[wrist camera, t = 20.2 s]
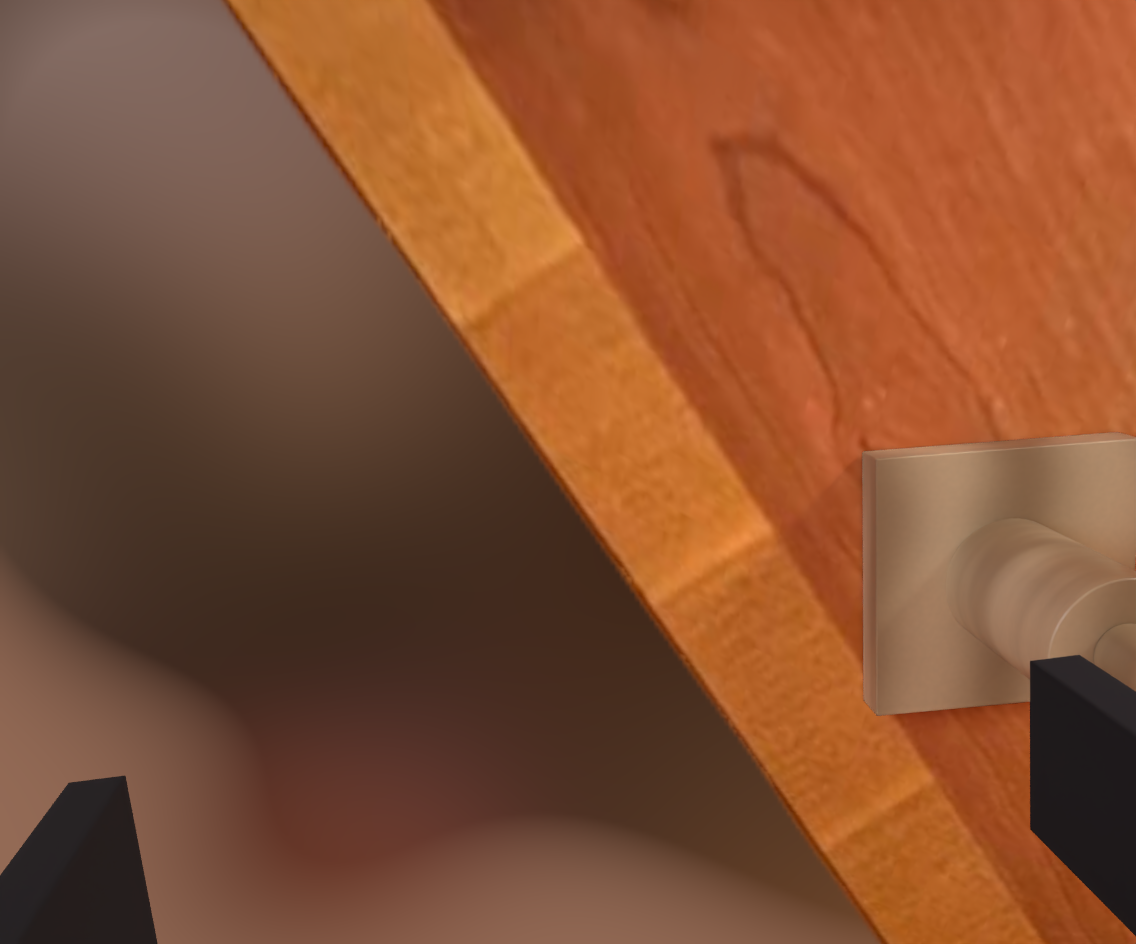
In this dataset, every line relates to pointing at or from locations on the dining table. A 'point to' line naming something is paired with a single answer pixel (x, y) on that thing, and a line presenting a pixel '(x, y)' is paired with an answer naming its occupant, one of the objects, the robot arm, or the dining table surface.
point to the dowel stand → (995, 567)
